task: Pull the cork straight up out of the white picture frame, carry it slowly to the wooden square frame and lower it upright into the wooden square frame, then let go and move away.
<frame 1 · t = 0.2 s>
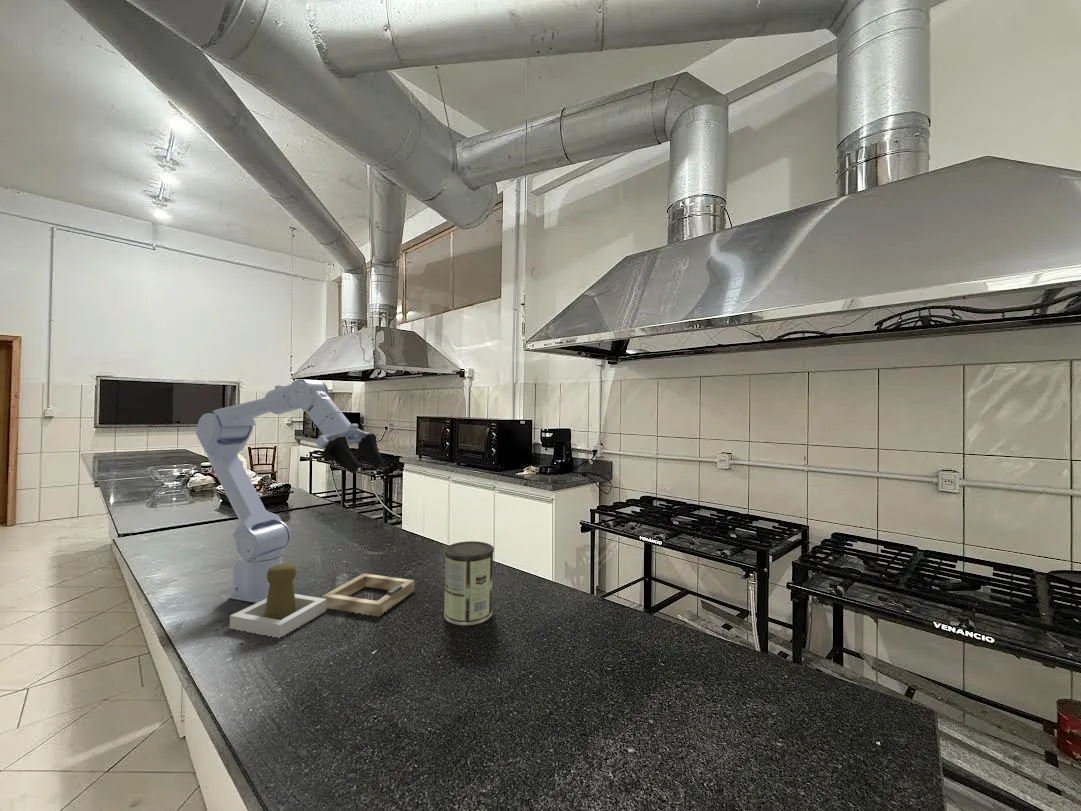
hand: (368, 467, 94), 31 cm above the counter, tool tilted 45°, fingers open, 7 cm apart
cork: (280, 620, 90), resting in white picture frame
coffee can: (467, 615, 95), on the counter
white picture frame: (280, 619, 90), on the counter
wooden square frame: (370, 598, 101), on the counter
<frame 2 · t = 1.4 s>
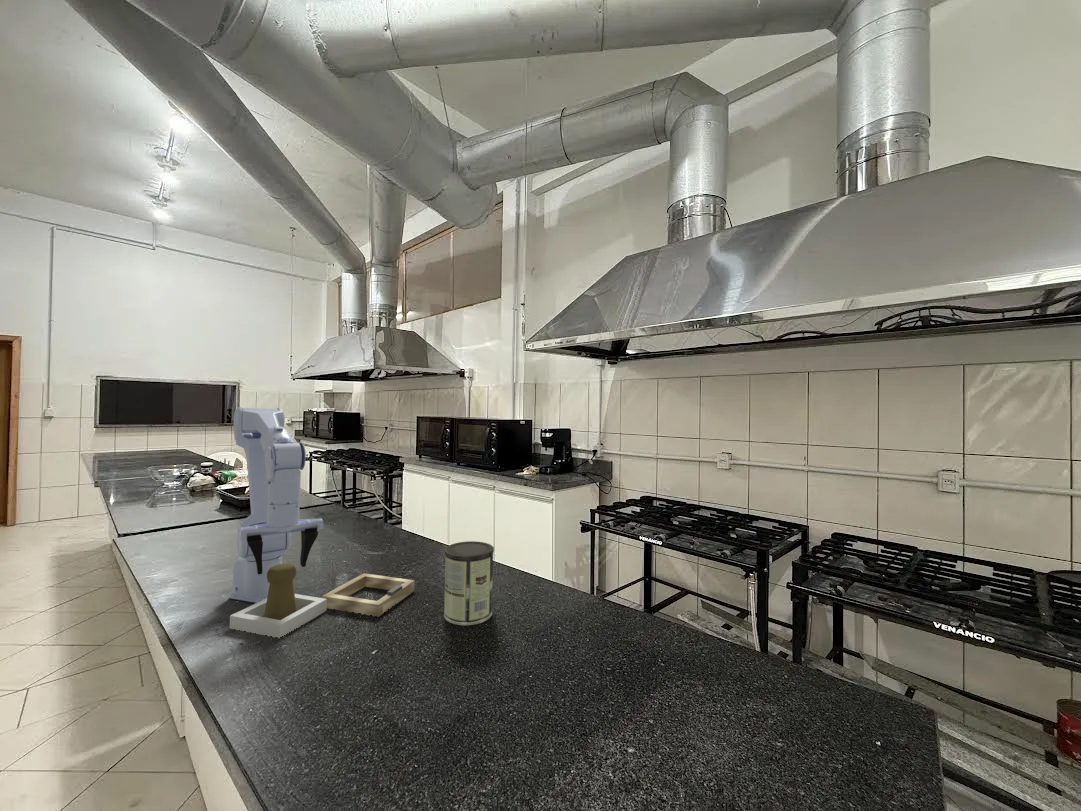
hand: (281, 569, 91), 10 cm above the counter, tool pointing down, fingers open, 7 cm apart
nothing on the counter moved.
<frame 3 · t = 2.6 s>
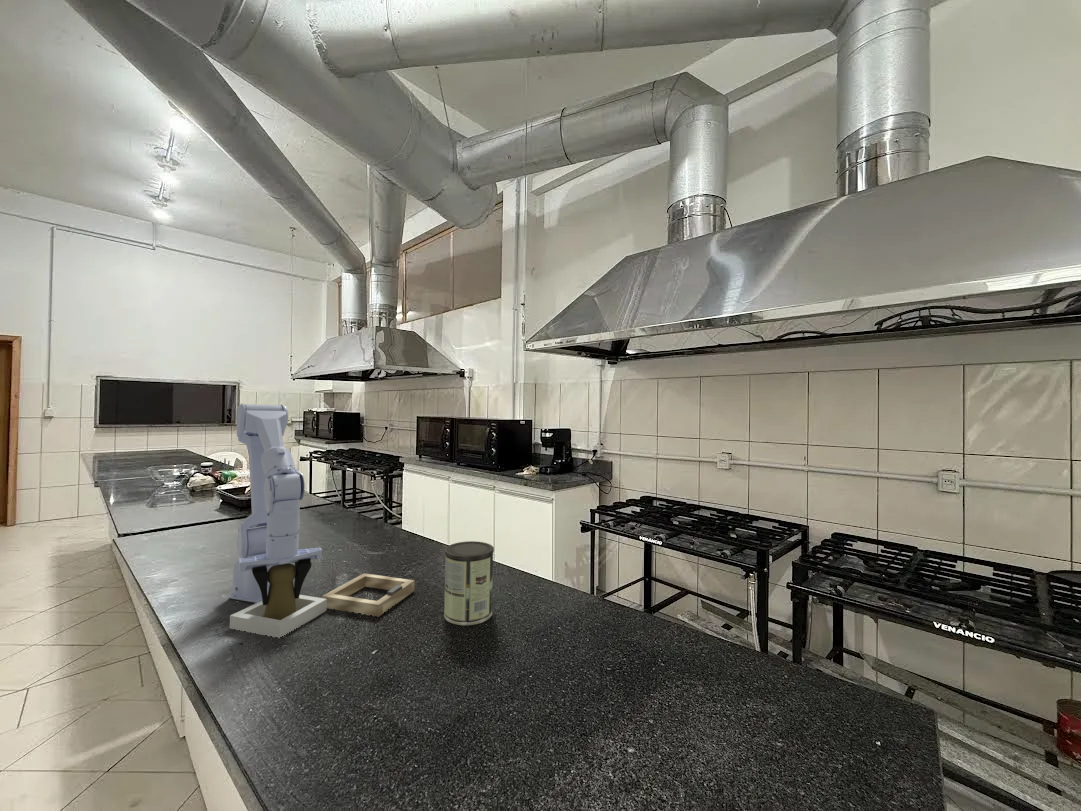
hand: (280, 600, 91), 4 cm above the counter, tool pointing down, fingers closed on cork, 5 cm apart
cork: (280, 620, 90), resting in white picture frame, touching gripper
everything else where it was.
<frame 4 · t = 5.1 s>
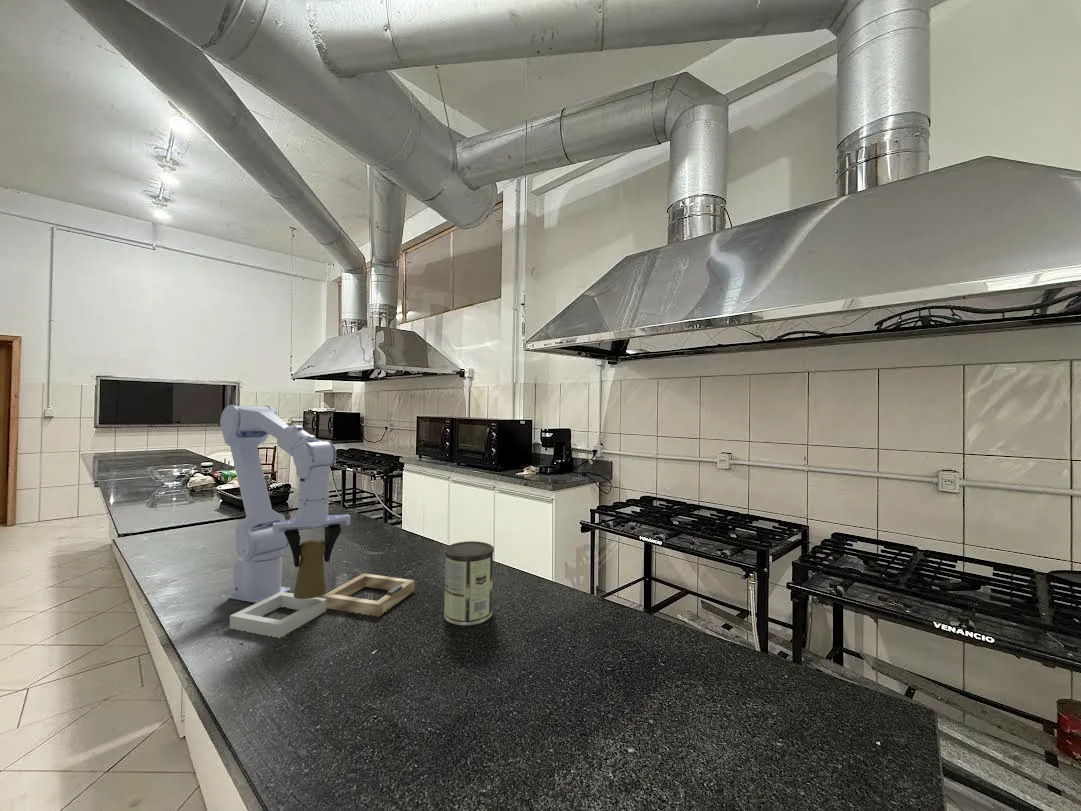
hand: (311, 562, 94), 10 cm above the counter, tool pointing down, fingers closed on cork, 5 cm apart
cork: (309, 594, 93), point 4 cm above the counter, touching gripper
everything else where it was.
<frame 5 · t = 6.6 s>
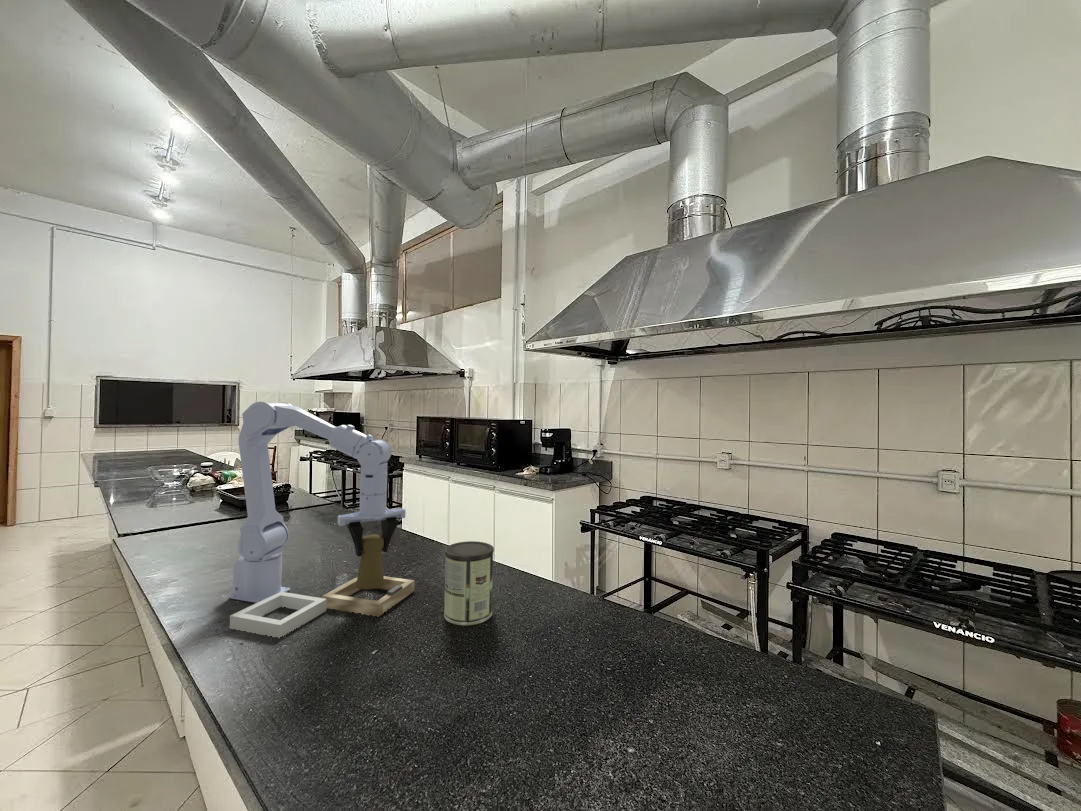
hand: (371, 553, 101), 10 cm above the counter, tool pointing down, fingers closed on cork, 5 cm apart
cork: (370, 585, 101), point 3 cm above the counter, touching gripper
everything else where it was.
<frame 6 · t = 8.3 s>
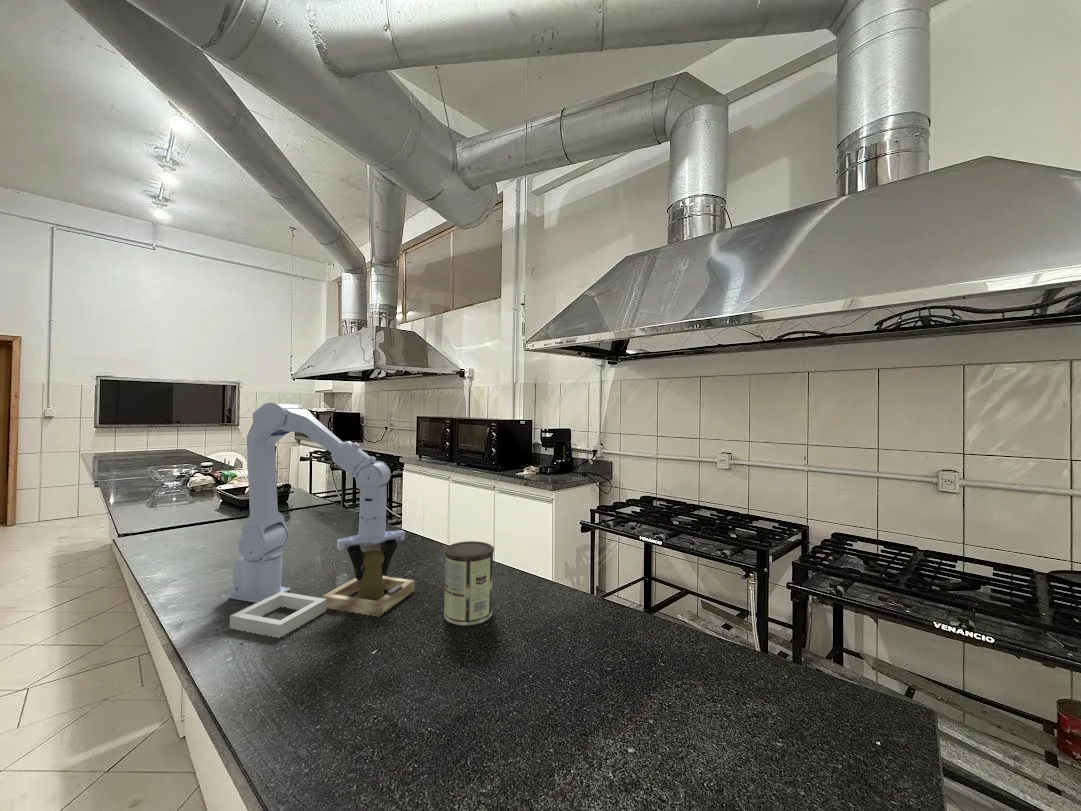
hand: (371, 576, 101), 5 cm above the counter, tool pointing down, fingers closed on cork, 5 cm apart
cork: (370, 600, 101), resting in wooden square frame, touching gripper
everything else where it was.
when the fingers open (5 cm above the counter, at t = 8.9 s): cork stays where it is, resting in wooden square frame.
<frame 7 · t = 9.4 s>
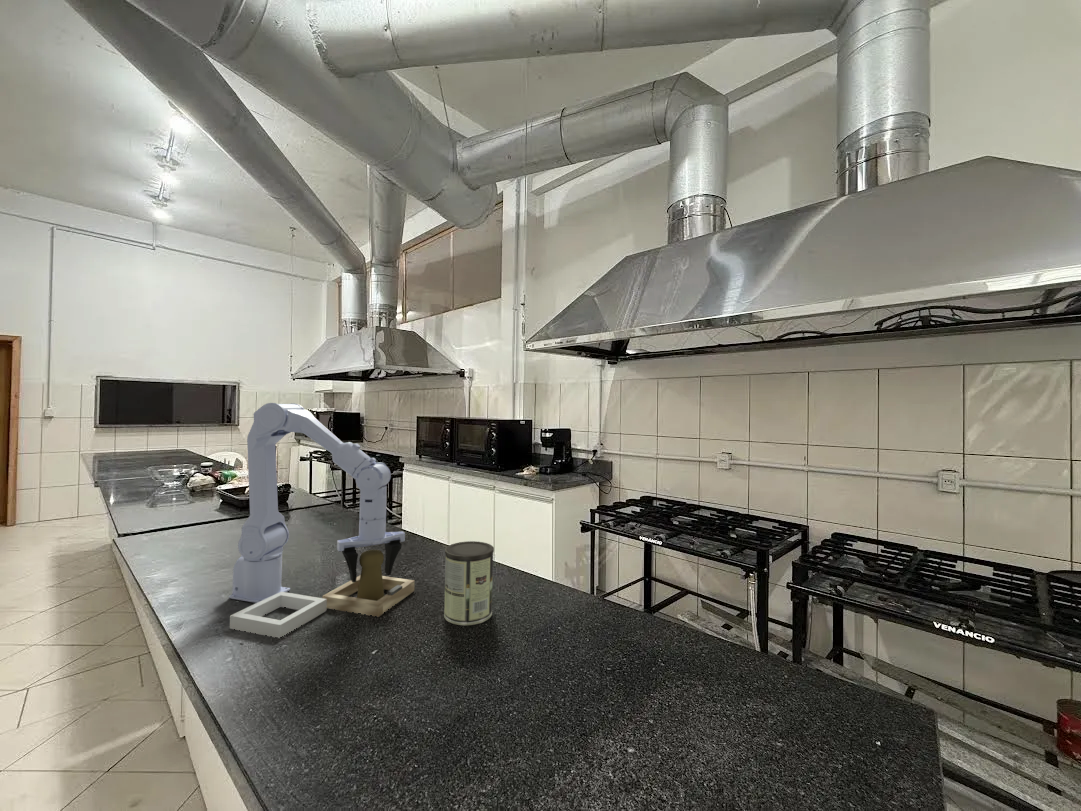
hand: (371, 577, 101), 5 cm above the counter, tool pointing down, fingers open, 7 cm apart
cork: (370, 600, 101), resting in wooden square frame
everything else where it was.
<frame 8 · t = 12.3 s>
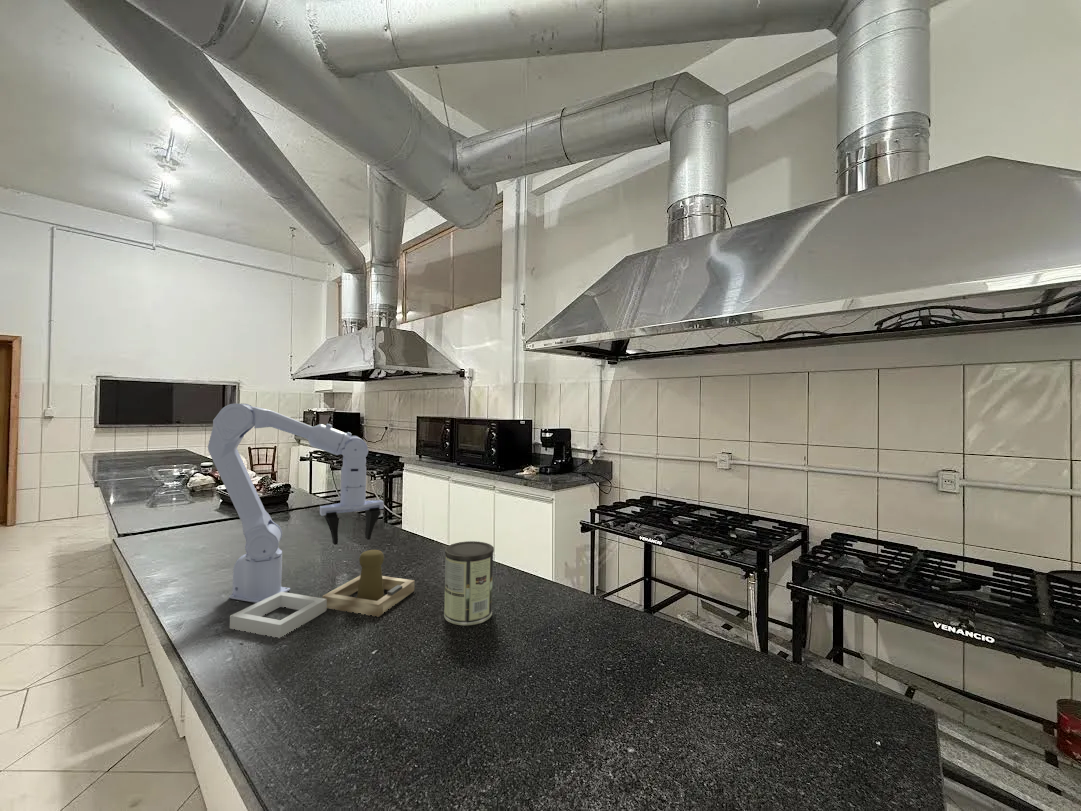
hand: (351, 541, 110), 10 cm above the counter, tool pointing down, fingers open, 7 cm apart
nothing on the counter moved.
at the end: cork 0.6 cm off-centre on the wooden square frame, point 0.0 cm above the wooden square frame's base; cork tilted 0°; the gripper is holding nothing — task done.
